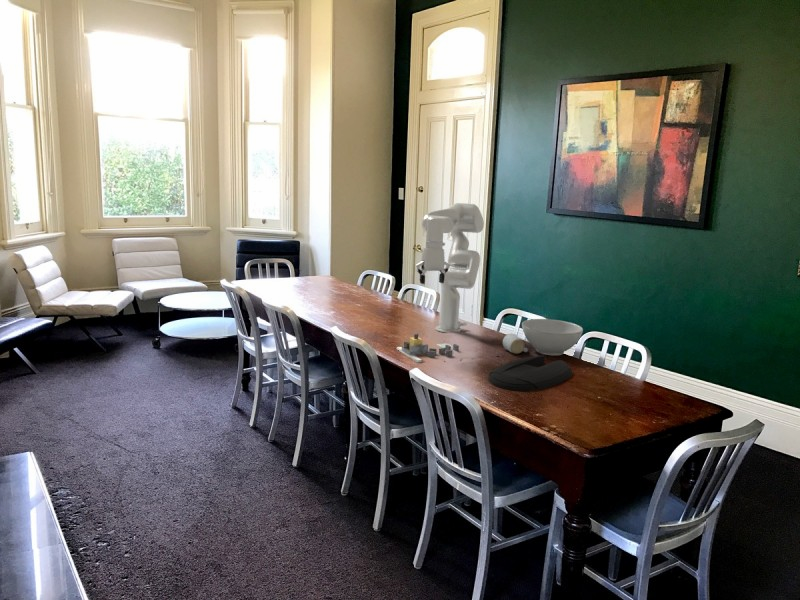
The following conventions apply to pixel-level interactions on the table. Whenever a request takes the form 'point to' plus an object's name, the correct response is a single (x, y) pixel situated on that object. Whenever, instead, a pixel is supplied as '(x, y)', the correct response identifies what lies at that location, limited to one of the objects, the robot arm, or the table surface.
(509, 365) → the folded dark cloth
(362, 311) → the table surface
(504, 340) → the ceramic mug
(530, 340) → the decorative bowl
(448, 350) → the board
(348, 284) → the table surface
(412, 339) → the connector
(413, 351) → the end holder
